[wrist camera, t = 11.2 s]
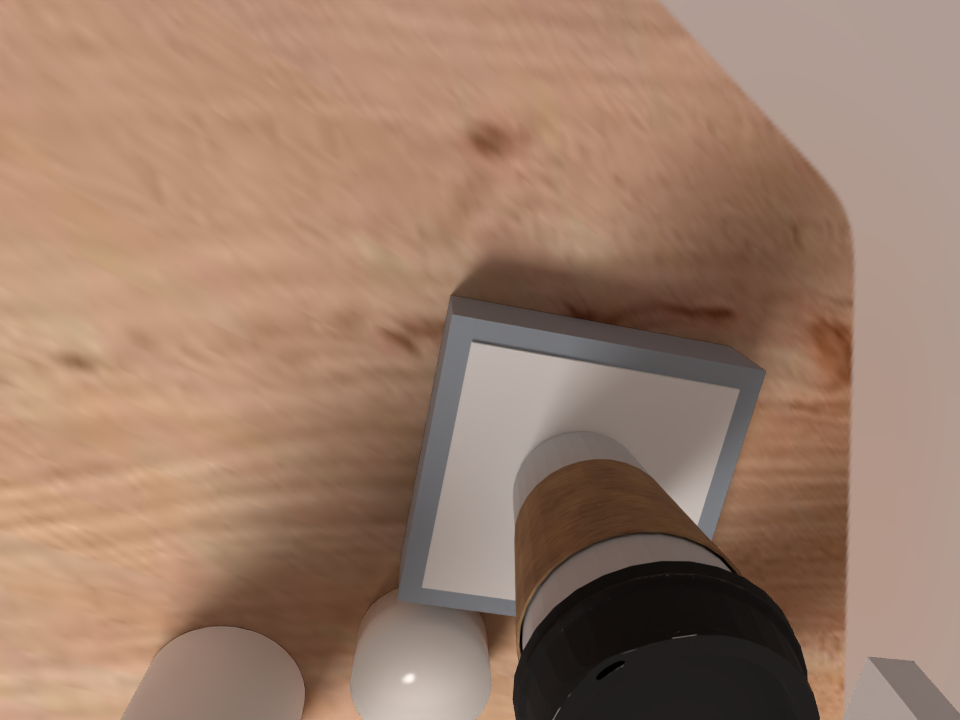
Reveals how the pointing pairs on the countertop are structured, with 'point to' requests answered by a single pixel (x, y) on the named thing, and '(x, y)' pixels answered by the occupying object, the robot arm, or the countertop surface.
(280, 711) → the container
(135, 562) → the countertop surface
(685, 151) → the countertop surface
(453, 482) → the podium
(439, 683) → the white dome
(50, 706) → the countertop surface
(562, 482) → the coffee cup
